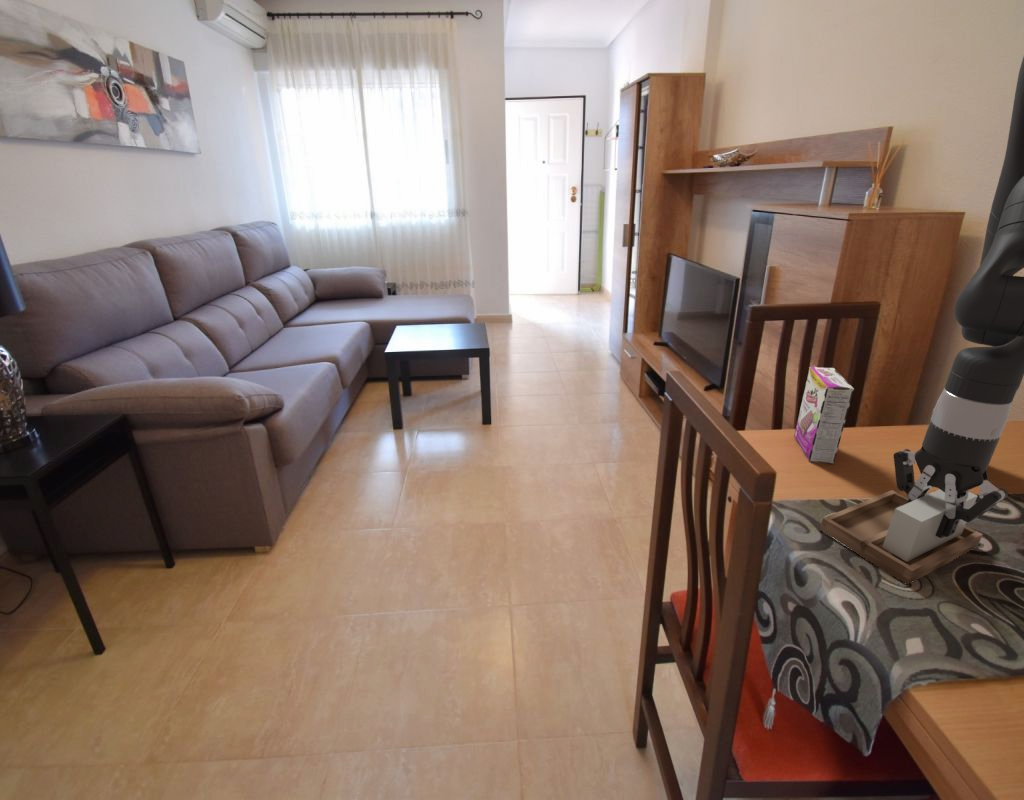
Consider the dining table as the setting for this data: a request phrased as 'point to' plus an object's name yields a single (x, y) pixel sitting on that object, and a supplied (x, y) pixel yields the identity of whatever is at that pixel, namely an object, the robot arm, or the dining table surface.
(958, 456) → the robot arm
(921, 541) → the light gray rectangular block
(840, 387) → the candy bar box
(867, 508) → the tray
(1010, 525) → the dining table surface
